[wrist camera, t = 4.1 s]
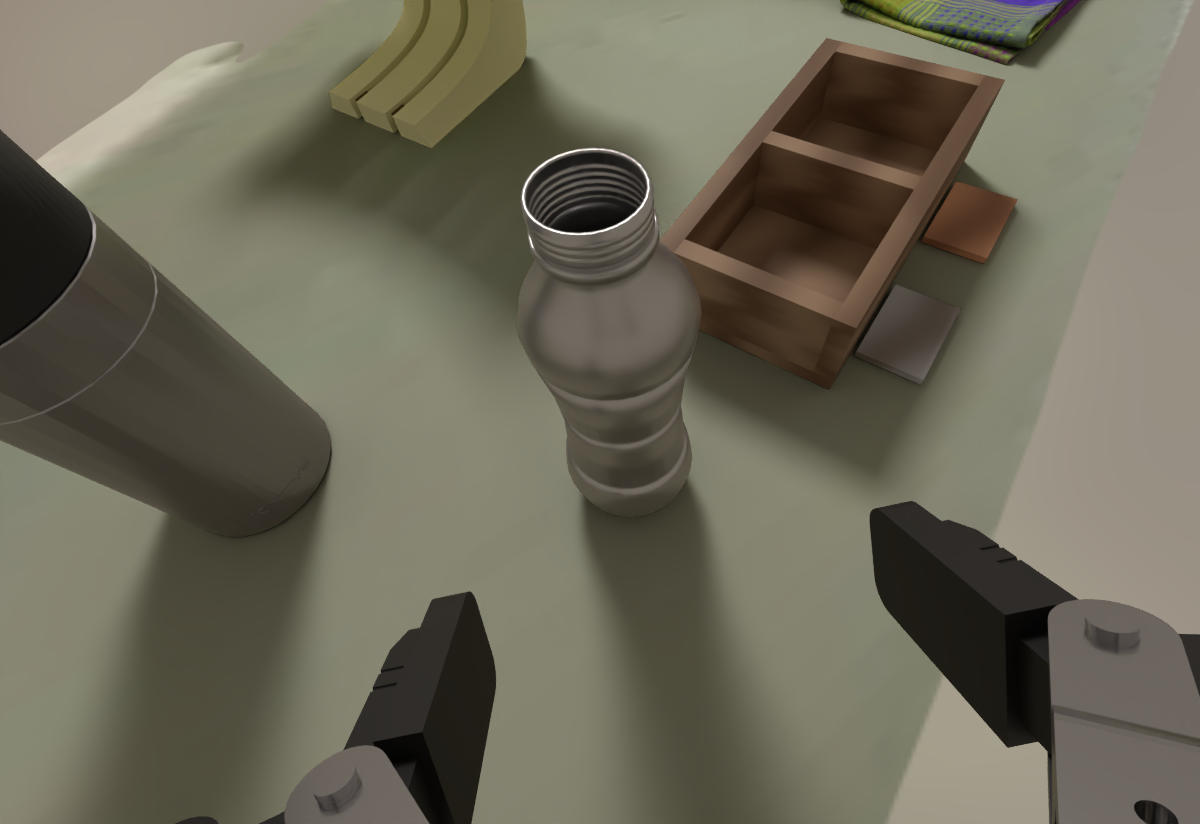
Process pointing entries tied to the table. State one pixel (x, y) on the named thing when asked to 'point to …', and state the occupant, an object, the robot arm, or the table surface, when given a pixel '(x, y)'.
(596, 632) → the table surface
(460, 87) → the slatted curved stool
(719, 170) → the box
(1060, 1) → the dish towel
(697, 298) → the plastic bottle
